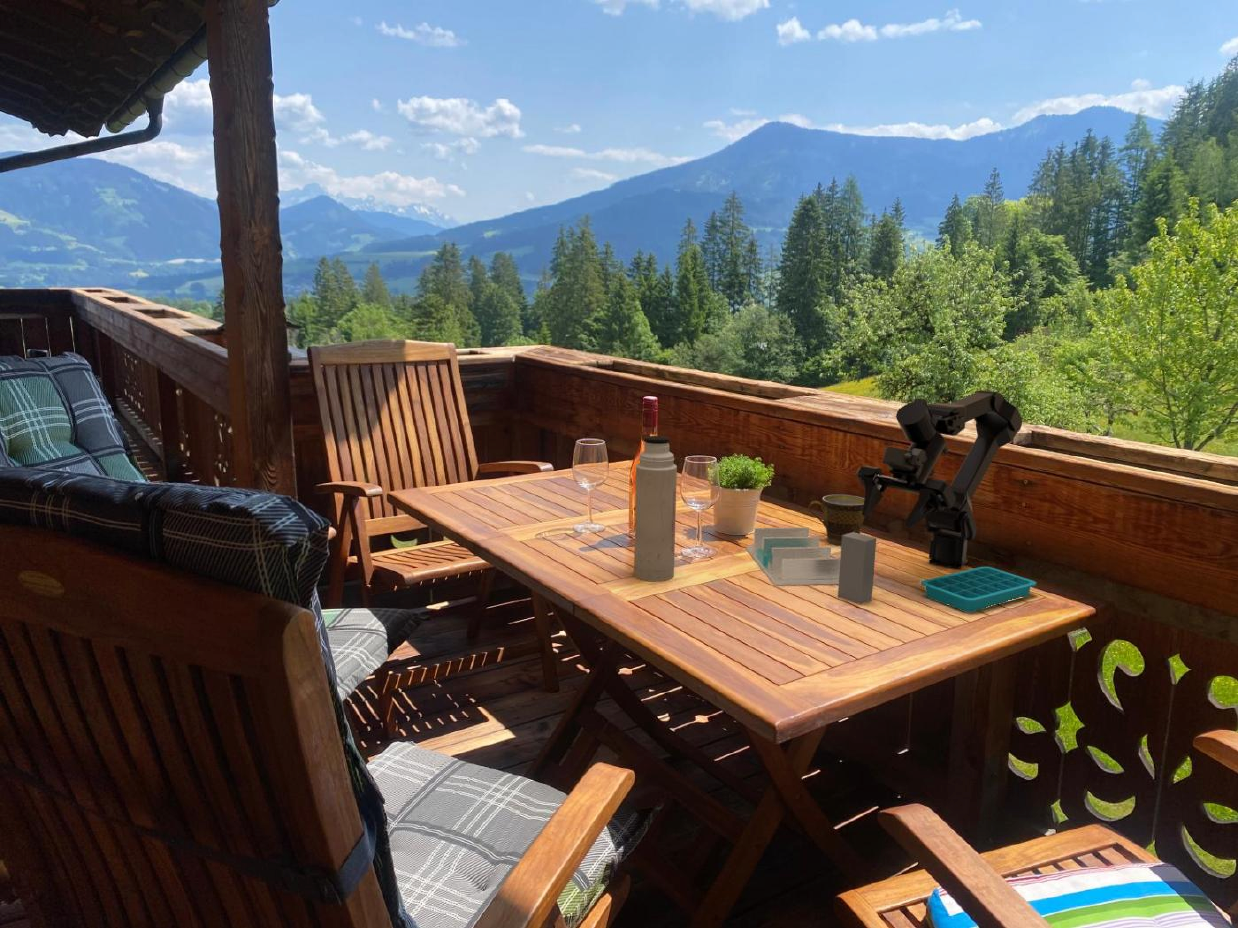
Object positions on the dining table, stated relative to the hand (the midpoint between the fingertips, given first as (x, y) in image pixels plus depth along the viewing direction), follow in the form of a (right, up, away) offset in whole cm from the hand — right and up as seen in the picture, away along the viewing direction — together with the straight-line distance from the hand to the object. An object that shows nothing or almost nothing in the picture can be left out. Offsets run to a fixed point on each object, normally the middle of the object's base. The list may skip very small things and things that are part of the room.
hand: (884, 521), depth 162 cm
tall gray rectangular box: (-6, -14, -2) cm, 16 cm away
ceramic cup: (-1, -7, +34) cm, 34 cm away
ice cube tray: (+18, -15, 0) cm, 23 cm away
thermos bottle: (-43, -12, +9) cm, 46 cm away
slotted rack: (-14, -10, +16) cm, 24 cm away
